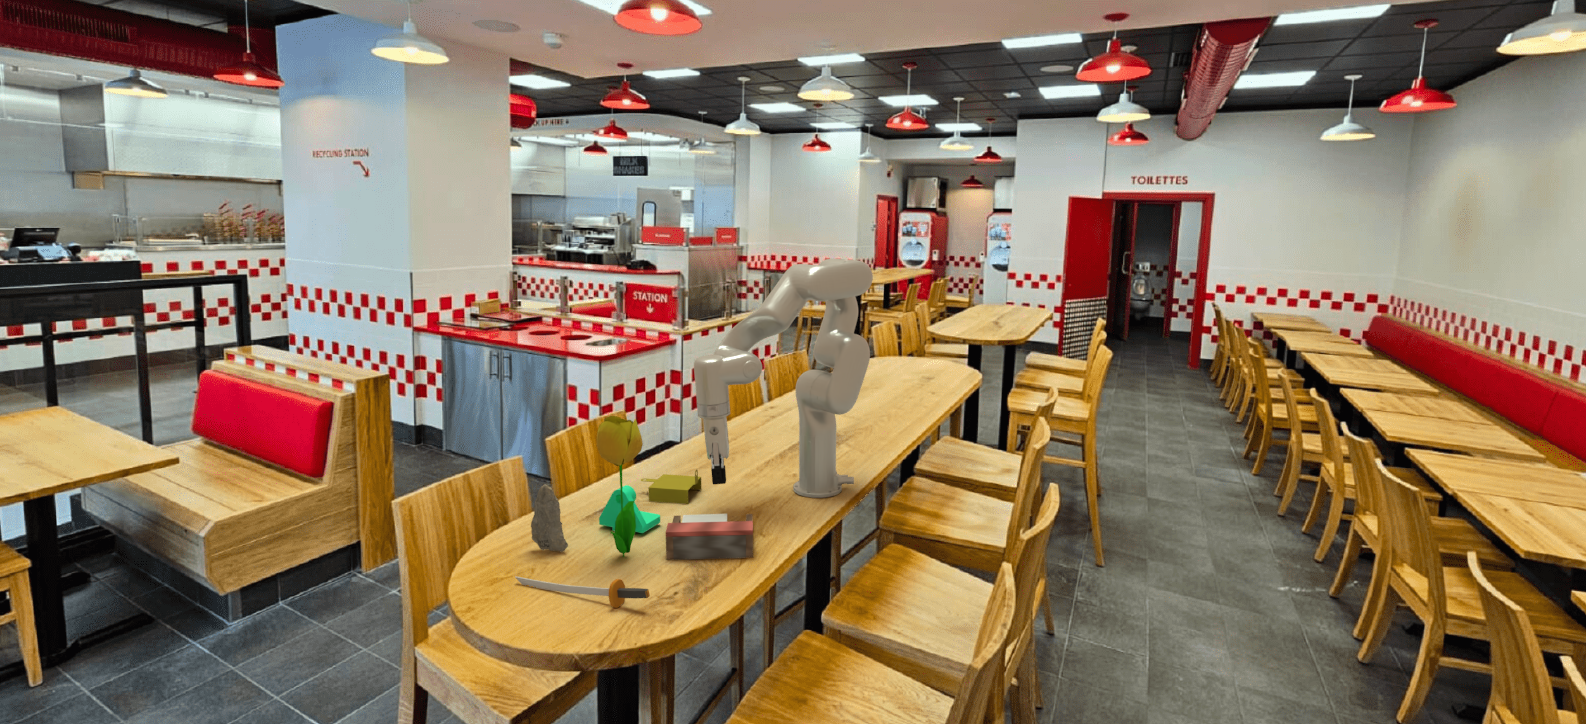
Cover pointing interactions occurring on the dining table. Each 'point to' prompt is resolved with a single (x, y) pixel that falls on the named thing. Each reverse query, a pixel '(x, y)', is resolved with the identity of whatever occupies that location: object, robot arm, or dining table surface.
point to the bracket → (673, 488)
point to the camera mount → (614, 507)
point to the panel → (705, 518)
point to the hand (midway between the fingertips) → (719, 482)
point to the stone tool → (547, 521)
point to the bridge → (709, 539)
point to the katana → (592, 590)
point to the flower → (620, 469)
